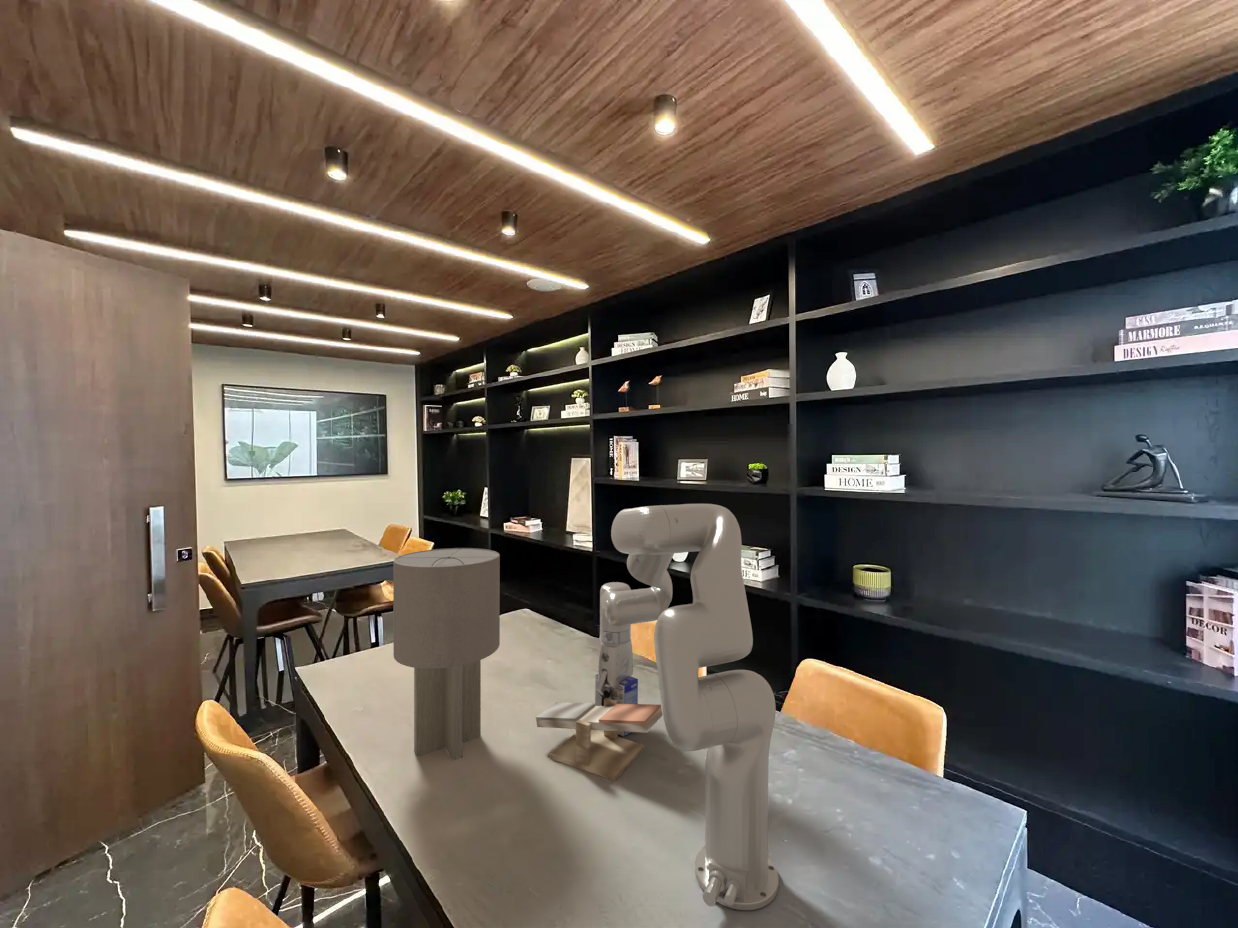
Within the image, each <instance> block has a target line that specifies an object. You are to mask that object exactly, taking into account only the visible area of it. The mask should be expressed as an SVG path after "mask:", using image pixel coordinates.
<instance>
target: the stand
mask: <svg viewBox="0 0 1238 928" xmlns="http://www.w3.org/2000/svg"><path fill="white" fill-rule="evenodd" d="M607 704H609V705H611V706H615V705H616V704H617V700H614V699H610V698H605V699H604V706H606V705H607ZM642 751H644V744H643V743H640V742H639V743H638V742H636V741H633V740H629V739H627V738H626V739H625V738H622V737H619V736H618V734H617V731H605V730H603V732H602V731H601V730H591V723H588V722H585V721H581V720H578V721H577V722H576V729H575V733H573V734H572V735H571V736H570V737H569V738H567V739H566V740H565V741H564V742H563V743H562V744H560V745H559V746H558V747H557V748H556V749H555V750H553V751H552V752H551V753H550V760H554V761H556V762H559V763H561V764H566V765H568V766H571V767H574V768H576V769H580V770H582V771H585V772H587V773H591V774H594V775H597V776H600V777H602V778H606V779H608V780H611V781H617V779H618V778H619V777H620V776H621V774H623V772H624V771H625V770H626V769H627V768H628V767H629V766H630V764H631V763H633V762H634V760H635V759H636V758H637V757H638V755H639V754H640V753H641V752H642Z"/></svg>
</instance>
